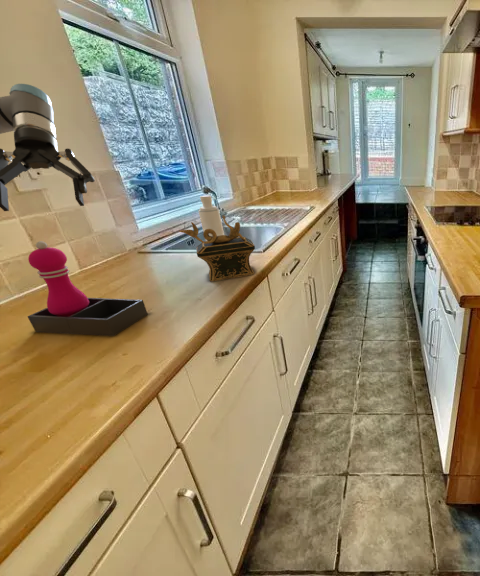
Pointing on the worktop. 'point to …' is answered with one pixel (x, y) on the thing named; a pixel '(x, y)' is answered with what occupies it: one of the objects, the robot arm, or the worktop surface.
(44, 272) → the pepper mill
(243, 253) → the decorative box
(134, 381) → the worktop surface
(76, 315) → the divided tray
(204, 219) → the cream bottle
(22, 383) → the worktop surface
